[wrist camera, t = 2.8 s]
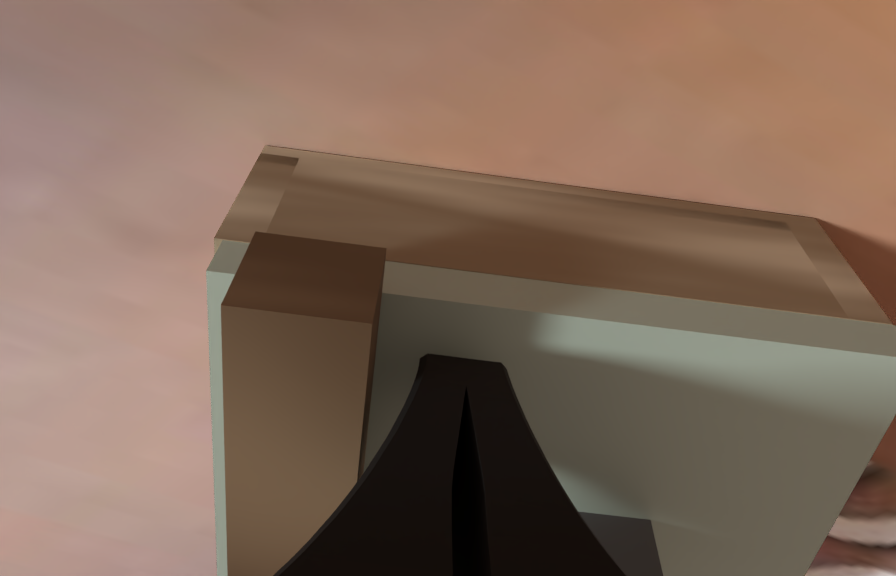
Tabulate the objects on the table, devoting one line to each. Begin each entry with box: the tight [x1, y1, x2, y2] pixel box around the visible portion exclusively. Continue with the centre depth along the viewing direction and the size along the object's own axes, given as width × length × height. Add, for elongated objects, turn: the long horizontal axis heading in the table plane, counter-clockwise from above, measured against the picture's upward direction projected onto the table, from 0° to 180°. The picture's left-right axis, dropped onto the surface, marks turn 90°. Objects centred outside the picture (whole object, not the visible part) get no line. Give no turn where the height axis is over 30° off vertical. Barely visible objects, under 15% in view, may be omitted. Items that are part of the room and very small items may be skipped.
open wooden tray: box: [214, 145, 893, 325], centre depth 19 cm, size 12×12×4 cm
